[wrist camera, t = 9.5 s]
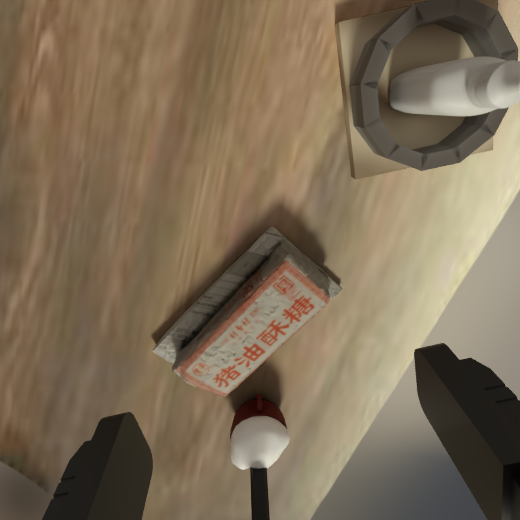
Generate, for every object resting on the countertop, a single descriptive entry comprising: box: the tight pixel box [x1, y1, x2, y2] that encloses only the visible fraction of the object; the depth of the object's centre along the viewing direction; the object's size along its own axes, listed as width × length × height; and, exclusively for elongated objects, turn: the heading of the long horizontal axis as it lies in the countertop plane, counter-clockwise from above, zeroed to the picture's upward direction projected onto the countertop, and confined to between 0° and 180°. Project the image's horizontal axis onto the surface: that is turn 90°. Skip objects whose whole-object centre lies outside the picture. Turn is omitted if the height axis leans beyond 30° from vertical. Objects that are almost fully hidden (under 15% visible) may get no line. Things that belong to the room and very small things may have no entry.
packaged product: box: [153, 227, 342, 397], centre depth 37 cm, size 18×5×10 cm
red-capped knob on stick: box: [230, 394, 291, 520], centre depth 39 cm, size 10×6×12 cm, turn 156°
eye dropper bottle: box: [389, 56, 520, 116], centre depth 25 cm, size 4×6×12 cm
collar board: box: [335, 0, 518, 179], centre depth 30 cm, size 12×12×4 cm
